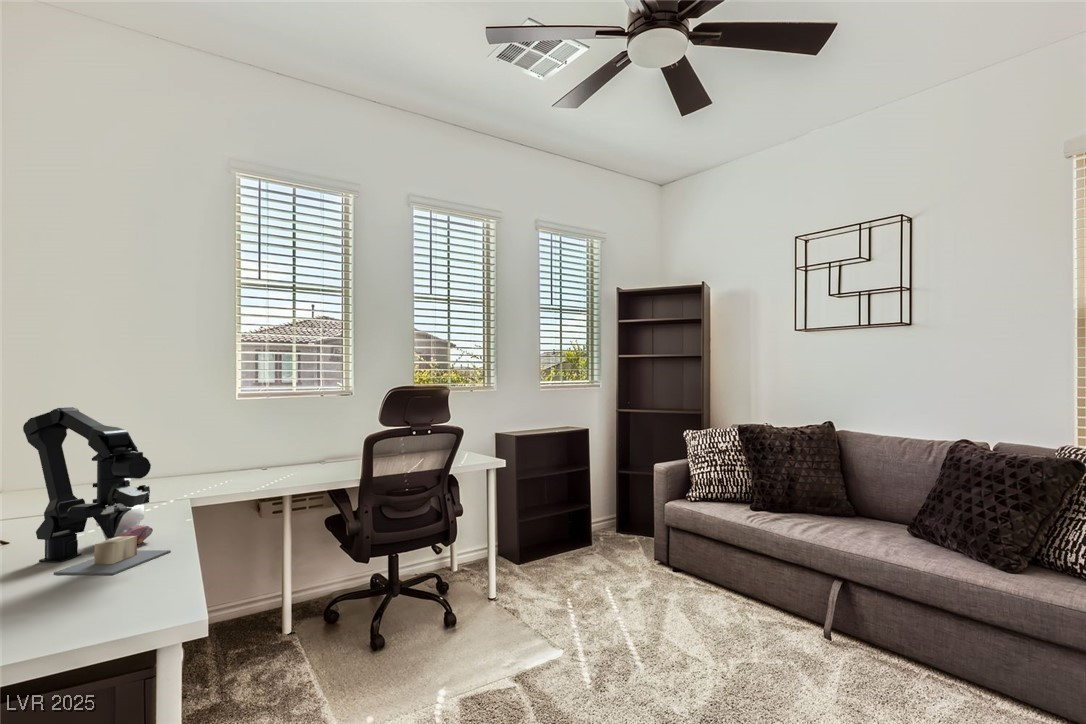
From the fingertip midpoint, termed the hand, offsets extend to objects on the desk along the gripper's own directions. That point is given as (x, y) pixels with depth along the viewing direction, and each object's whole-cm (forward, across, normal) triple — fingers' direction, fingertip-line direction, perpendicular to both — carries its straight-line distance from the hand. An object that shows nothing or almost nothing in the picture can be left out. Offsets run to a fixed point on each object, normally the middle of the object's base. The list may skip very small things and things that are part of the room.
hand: (110, 538), depth 143 cm
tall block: (+4, -2, 0) cm, 4 cm away
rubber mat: (+6, 0, -1) cm, 7 cm away
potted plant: (+7, +20, +16) cm, 27 cm away
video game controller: (+7, +15, +8) cm, 19 cm away
